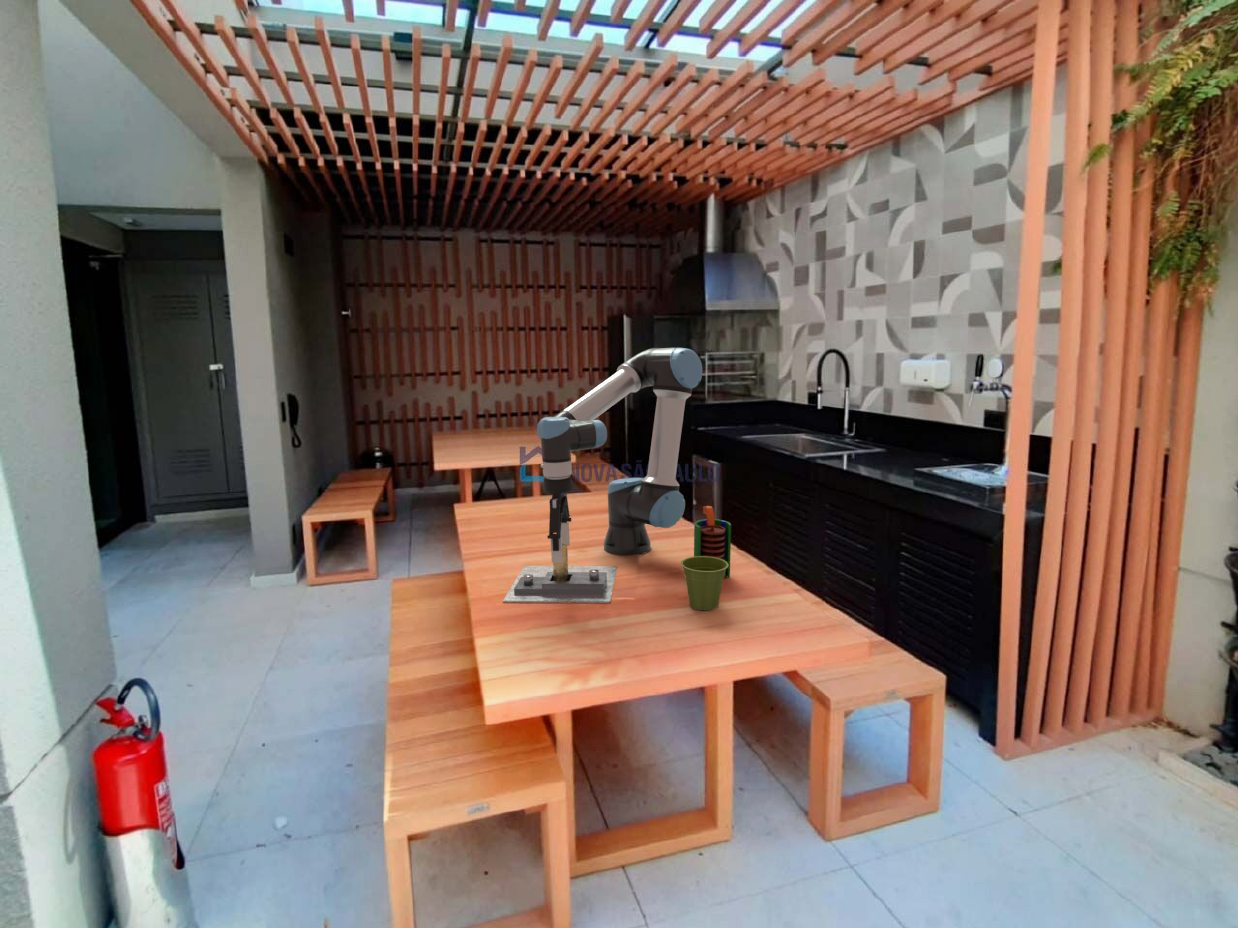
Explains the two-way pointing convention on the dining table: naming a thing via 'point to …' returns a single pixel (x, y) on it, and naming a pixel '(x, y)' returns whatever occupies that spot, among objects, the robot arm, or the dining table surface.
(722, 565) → the plant pot
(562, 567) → the brass pin
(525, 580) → the square hole fixture plate
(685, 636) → the dining table surface
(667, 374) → the robot arm
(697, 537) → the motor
